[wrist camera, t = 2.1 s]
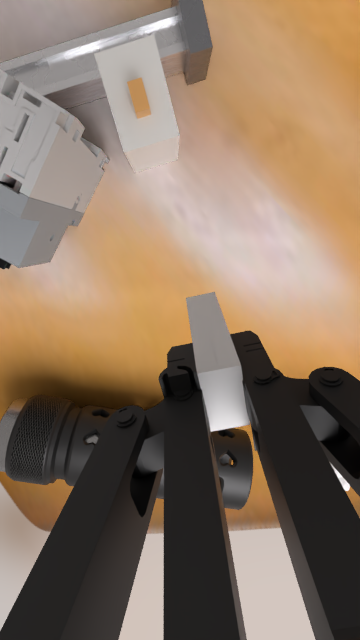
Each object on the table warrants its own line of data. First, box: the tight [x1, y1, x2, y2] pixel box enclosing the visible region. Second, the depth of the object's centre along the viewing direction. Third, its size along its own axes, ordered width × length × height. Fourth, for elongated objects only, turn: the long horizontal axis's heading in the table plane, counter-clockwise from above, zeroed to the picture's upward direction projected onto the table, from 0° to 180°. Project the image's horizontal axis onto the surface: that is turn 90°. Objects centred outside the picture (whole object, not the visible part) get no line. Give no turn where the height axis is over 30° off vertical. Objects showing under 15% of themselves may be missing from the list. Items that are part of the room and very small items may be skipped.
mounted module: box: [94, 34, 180, 173], centre depth 30 cm, size 5×8×10 cm, turn 16°
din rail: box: [0, 0, 213, 109], centre depth 31 cm, size 30×6×6 cm, turn 106°
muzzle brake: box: [0, 395, 253, 510], centre depth 39 cm, size 10×28×10 cm, turn 79°
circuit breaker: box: [0, 69, 110, 269], centre depth 30 cm, size 8×14×15 cm, turn 150°
